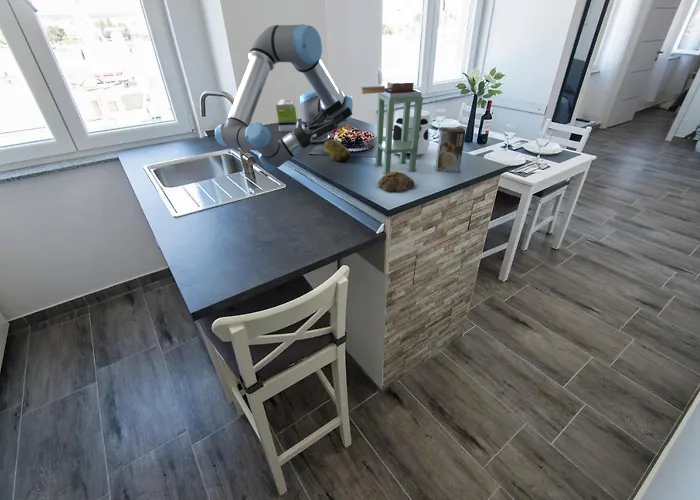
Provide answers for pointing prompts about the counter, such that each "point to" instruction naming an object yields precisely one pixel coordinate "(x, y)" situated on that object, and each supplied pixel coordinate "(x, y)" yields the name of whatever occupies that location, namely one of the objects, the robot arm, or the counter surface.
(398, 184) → the bread roll
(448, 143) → the coffee box
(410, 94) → the steel pan
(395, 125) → the milk container
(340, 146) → the potato
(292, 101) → the tea box
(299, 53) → the robot arm
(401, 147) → the shelf stand
